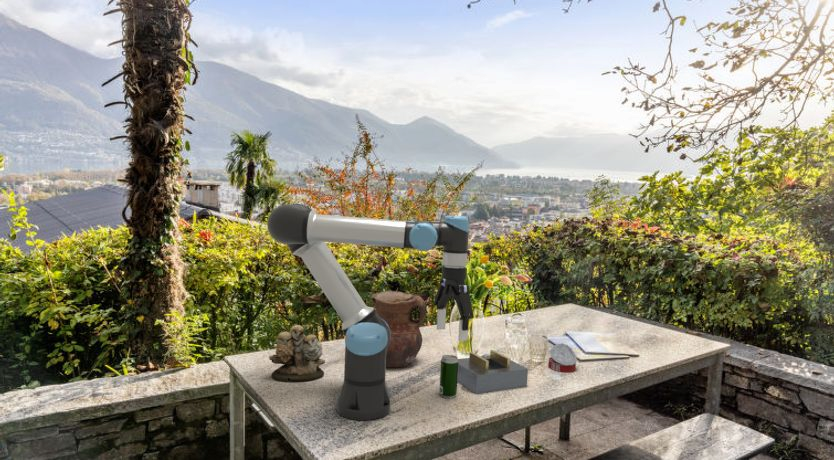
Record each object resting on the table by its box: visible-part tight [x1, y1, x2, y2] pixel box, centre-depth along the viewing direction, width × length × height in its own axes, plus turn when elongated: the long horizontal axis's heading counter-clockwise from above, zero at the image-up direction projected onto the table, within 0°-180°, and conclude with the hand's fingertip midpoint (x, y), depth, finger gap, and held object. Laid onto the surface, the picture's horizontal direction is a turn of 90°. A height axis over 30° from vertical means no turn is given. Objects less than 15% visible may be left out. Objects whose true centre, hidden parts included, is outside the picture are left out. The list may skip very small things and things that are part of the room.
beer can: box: [438, 354, 459, 399], centre depth 153 cm, size 5×5×12 cm
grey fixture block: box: [457, 349, 529, 395], centre depth 168 cm, size 23×18×9 cm
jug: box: [370, 290, 428, 368], centre depth 182 cm, size 22×21×25 cm
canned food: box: [547, 343, 578, 374], centre depth 185 cm, size 11×10×10 cm
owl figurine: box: [268, 324, 326, 383], centre depth 163 cm, size 18×12×17 cm, turn 108°
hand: (451, 334), depth 152 cm, fingers open, 13 cm apart
